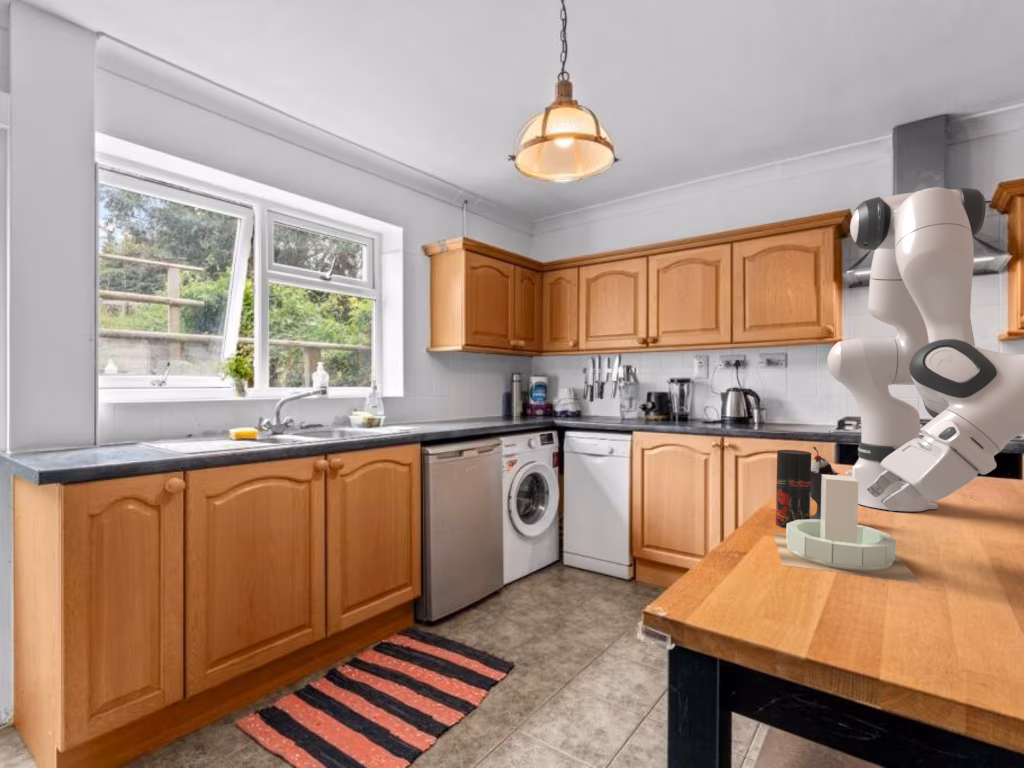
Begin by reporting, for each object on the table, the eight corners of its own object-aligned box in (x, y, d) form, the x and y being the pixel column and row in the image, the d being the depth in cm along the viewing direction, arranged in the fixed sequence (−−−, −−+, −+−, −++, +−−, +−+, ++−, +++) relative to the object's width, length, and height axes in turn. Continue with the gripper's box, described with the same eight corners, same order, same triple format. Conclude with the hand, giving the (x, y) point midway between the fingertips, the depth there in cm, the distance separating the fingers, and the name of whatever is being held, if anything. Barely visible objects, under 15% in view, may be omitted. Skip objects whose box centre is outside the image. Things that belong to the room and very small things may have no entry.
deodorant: (814, 533, 102) (815, 454, 102) (780, 531, 104) (782, 453, 103) (803, 524, 108) (805, 450, 108) (772, 522, 109) (773, 449, 109)
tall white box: (820, 543, 92) (821, 474, 92) (850, 547, 91) (852, 476, 90) (824, 551, 88) (826, 479, 88) (856, 555, 86) (858, 481, 86)
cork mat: (772, 535, 101) (772, 533, 101) (886, 547, 94) (886, 545, 94) (782, 567, 84) (782, 564, 84) (921, 585, 78) (921, 582, 78)
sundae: (807, 513, 117) (808, 444, 116) (842, 519, 112) (844, 448, 112) (796, 519, 112) (798, 447, 112) (833, 526, 107) (834, 451, 107)
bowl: (782, 536, 99) (783, 515, 99) (878, 546, 93) (879, 525, 93) (792, 563, 85) (792, 539, 85) (905, 577, 79) (906, 551, 79)
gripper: (915, 422, 94) (848, 473, 98) (962, 435, 75) (877, 498, 79) (945, 449, 92) (877, 500, 96) (1002, 469, 73) (913, 532, 77)
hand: (877, 499), depth 87 cm, fingers open, 8 cm apart
